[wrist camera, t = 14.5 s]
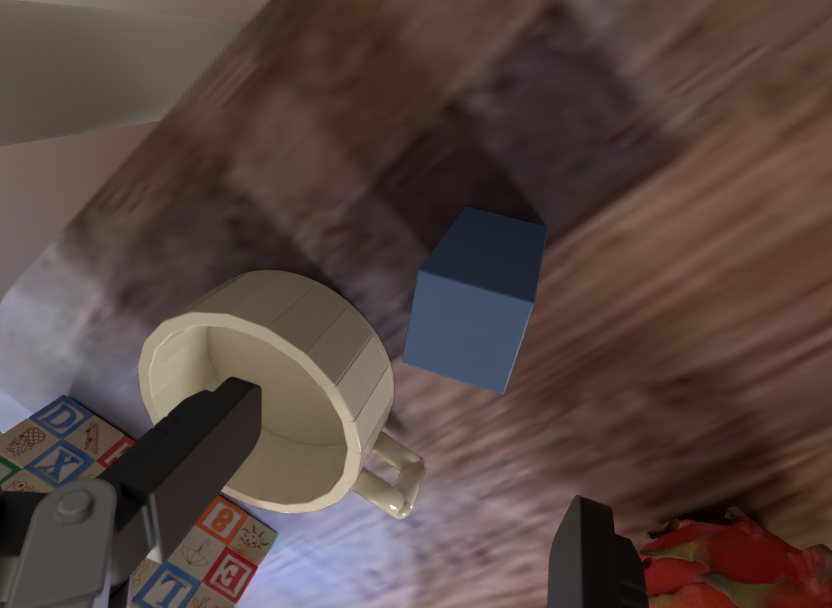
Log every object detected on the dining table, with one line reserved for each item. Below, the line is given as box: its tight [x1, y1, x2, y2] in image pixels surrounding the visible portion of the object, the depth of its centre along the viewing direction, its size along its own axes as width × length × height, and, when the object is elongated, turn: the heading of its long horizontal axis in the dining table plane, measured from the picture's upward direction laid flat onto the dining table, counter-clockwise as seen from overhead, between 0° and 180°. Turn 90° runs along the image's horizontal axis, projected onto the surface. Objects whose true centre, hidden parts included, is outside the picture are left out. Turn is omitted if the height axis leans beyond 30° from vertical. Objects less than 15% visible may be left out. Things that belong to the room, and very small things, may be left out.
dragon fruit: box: [638, 506, 832, 608], centre depth 25 cm, size 8×8×12 cm
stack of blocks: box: [0, 395, 278, 608], centre depth 36 cm, size 21×6×12 cm, turn 61°
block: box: [402, 206, 548, 395], centre depth 20 cm, size 4×4×8 cm
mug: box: [138, 270, 426, 519], centre depth 29 cm, size 17×14×6 cm
